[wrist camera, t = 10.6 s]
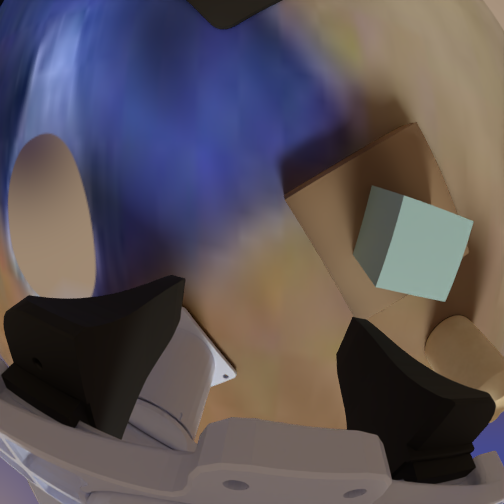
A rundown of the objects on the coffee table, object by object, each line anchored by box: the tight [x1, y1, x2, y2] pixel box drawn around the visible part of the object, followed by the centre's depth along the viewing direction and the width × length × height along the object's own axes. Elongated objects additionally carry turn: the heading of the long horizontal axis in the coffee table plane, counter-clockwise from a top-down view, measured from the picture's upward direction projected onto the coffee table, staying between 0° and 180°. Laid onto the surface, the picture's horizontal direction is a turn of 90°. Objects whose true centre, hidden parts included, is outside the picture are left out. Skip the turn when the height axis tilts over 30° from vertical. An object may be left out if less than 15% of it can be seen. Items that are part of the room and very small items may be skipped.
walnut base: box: [284, 122, 469, 320], centre depth 18 cm, size 10×10×3 cm
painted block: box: [353, 185, 474, 302], centre depth 15 cm, size 4×4×5 cm
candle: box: [425, 315, 504, 423], centre depth 17 cm, size 6×6×10 cm
